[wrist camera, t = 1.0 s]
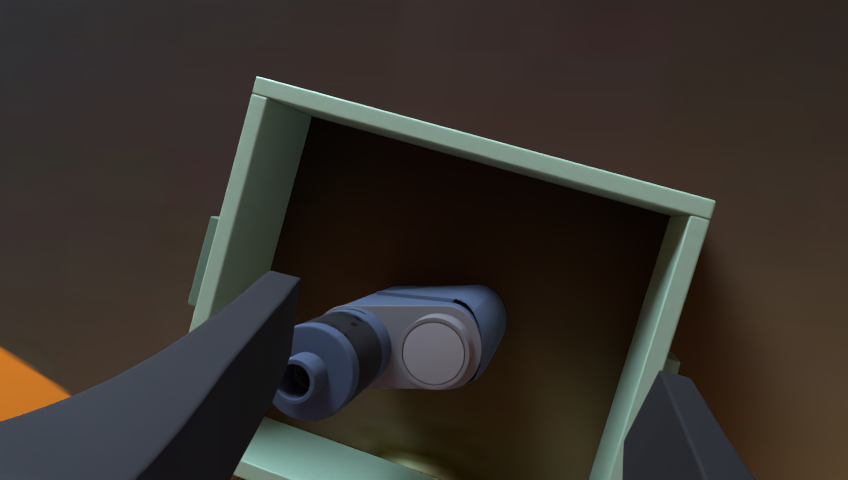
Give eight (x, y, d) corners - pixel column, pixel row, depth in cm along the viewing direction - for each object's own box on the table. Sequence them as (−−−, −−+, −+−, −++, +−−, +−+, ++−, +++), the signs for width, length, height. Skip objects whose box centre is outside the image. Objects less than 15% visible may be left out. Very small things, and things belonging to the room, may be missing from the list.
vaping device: (372, 282, 29) (239, 324, 17) (508, 282, 28) (466, 326, 16) (373, 348, 29) (242, 435, 17) (509, 350, 28) (468, 444, 16)
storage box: (598, 551, 28) (604, 614, 23) (206, 410, 31) (144, 442, 26) (706, 208, 27) (733, 205, 22) (290, 94, 30) (242, 72, 25)
